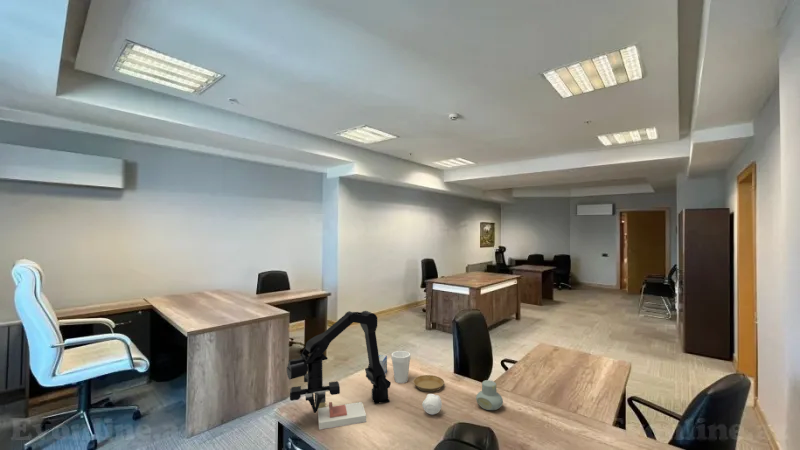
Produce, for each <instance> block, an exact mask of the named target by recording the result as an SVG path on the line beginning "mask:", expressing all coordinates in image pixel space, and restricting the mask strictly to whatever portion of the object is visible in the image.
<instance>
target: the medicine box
mask: <svg viewBox="0 0 800 450" xmlns="http://www.w3.org/2000/svg"><path fill="white" fill-rule="evenodd" d="M379 361H380V364H381V366H382V368H383V370H384V373H385V375H386V374H387V372H388V356H387V355H384V354H380V355H379Z"/></svg>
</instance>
